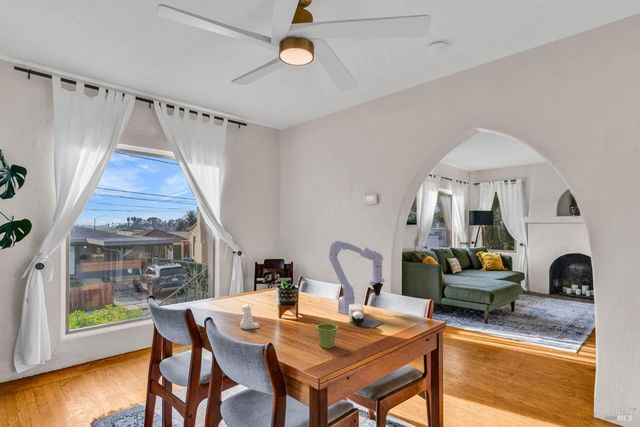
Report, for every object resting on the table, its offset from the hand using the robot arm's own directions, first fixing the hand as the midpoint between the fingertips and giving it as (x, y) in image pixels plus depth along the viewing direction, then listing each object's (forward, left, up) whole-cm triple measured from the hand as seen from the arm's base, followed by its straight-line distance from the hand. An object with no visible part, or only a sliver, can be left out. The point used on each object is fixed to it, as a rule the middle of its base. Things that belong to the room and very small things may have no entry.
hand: (377, 295), depth 208 cm
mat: (+5, -21, -10) cm, 24 cm away
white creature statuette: (-39, -66, -11) cm, 77 cm away
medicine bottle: (-3, -20, -5) cm, 21 cm away
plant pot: (+9, -62, -11) cm, 64 cm away
